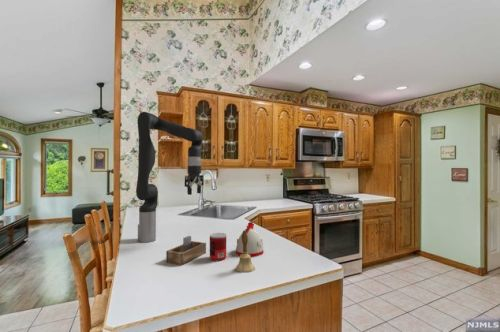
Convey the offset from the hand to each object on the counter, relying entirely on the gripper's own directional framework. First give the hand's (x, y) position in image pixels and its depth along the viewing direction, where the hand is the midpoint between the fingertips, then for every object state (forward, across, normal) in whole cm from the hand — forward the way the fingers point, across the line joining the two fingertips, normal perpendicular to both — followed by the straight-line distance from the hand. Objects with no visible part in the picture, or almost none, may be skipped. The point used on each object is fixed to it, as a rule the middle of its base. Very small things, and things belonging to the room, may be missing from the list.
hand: (194, 193), depth 142 cm
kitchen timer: (+28, 0, +34) cm, 44 cm away
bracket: (+28, +19, +10) cm, 35 cm away
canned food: (+28, +14, +24) cm, 40 cm away
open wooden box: (+28, +19, +10) cm, 35 cm away
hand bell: (+28, +20, +41) cm, 54 cm away
